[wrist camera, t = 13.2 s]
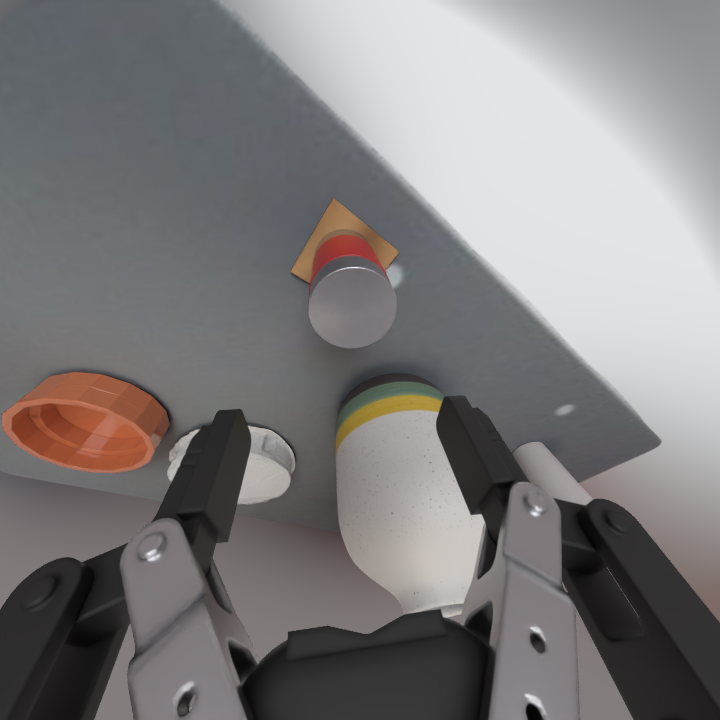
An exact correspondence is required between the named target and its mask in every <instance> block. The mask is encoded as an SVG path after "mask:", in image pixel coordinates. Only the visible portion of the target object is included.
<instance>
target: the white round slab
mask: <svg viewBox="0 0 720 720" xmlns="http://www.w3.org/2000/svg"><path fill="white" fill-rule="evenodd" d="M248 428H249V431H250V433H251V449H250V453H249V457H248V461H247V466H246V470H245V474H244V478H243V482H242V486H241V490H240V494H239V498H238V502H237V504H245V505H246V504H250V503H253V504H255V503H256V502H257V503H258V502H263V501H264V502H265V501H266V500H268V499H270V500H271V499H272V498H273V497H274V498H275V497H279V496H280V495H281V494H282V495H283V492H284V491H286V489H288V487H289V485H290V481H291V478H290V475H291V473H292V472H293V470H294V469H295V458H294V454H293V453H292V450H291V449H290V447H289V446H288V445H287V443H285V441H284V440H283V439H281V437H280V436H279V435H278V434H276V433H275V432H272V431H271V430H268V429H263V428H261V429H260V428H257V427H251V426H248ZM198 431H199V429H197V430H194V432H189V433H190V435H187V436H185V437H182V438H181V439H180V440H179V441H178V443H175V446H174V447H173V448H172V450H171V451H170V452H169V453H170V455H169V456H170V457H169V460H170V461H171V463H172V464H171V466H170V467H169V469H168V472H167V474H168V477H169V479H170V481H171V482H172V480H173V478H174V476H175V474H176V471H177V469H178V467H180V463H181V461H182V458H183V456H184V455H185V454H186V453H185V452H186V450H187V448H188V445H189V443H190V441H191V439H192V438H193V436H194V435H195V434H196V433H197V432H198ZM264 502H263V503H264ZM266 502H267V501H266ZM258 504H259V503H258Z"/></svg>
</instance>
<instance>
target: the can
mask: <svg viewBox="0 0 720 720" xmlns="http://www.w3.org/2000/svg"><path fill="white" fill-rule="evenodd" d="M396 314H397V298H396V295H395V292H394V290H393V288H392V286H391V284H390V282H389V279H388V277H387V274H386V272H385V271H384V269H383V267H382V265H381V263H380V261H379V259H378V257H377V255H376V253H375V251H374V250H373V248H372V247H371V245H370V243H369V242H368V240H367V239H366V238H365V237H364V236H363V235H361V234H360V233H358V232H356V231H353V230H349V229H339V230H335V231H332V232H330V233H328V234H327V235H326V236H324V237H323V238H322V239H321V241H320V242H319V243H318V245H317V247H316V250H315V253H314V259H313V264H312V272H311V280H310V288H309V303H308V315H309V319H310V322H311V325H312V326H313V328H314V330H315V331H316V333H317V334H318V335H319V336H320V337H321V338H323V339H324V340H325V341H327V342H328V343H330V344H332V345H335V346H338V347H342V348H360V347H365V346H368V345H370V344H372V343H375V342H376V341H378V340H379V339H381V338H382V337H383V336H384V335H385V334H386V333H387V332H388V331H389V329H390V328H391V326H392V325H393V323H394V320H395V318H396Z"/></svg>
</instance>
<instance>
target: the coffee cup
mask: <svg viewBox="0 0 720 720" xmlns="http://www.w3.org/2000/svg"><path fill="white" fill-rule="evenodd" d="M512 455H513V457H514V458H515V460H516V461H517V463H518V464H519V466H520V468H521V469H522V471H523V472H524V474H525V476H526V477H527V478H528V480H529V481H530V482H531V483H533V484H536V485H538V486H540V487H541V488H543V489H544V490H545V491H547V492H548V493H549V494H550V495H551V496H552V497H553V498H556V499H560V500H564V501H568V502H573V503H577V504H581V505H585V506H586V505H587V504H588V503H589V502H591V501H592V500H593V499H592V498H591V497H590V496H589V495H588V494H587V492H586V491H585V490H584V489H583V488H582V487H581V486H580V485H579V484H578V482H577V481H576V480H575V479H574V478H573V477H572V476H571V475H570V473H569V472H568V471H567V470H566V469H565V468H564V467H563V466H562V465H561V463H560V462H559V461H558V460H557V459H556V458H555V457H554V456H553V454H552V453H551V452H550V451H549V450H548V449H547V448H546V447H545V445H544V444H543V443H541V442H530V443H526V444H524V445H522V446H520V447H518V448H517V449H516V450H515V451H514V452H513V453H512Z"/></svg>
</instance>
